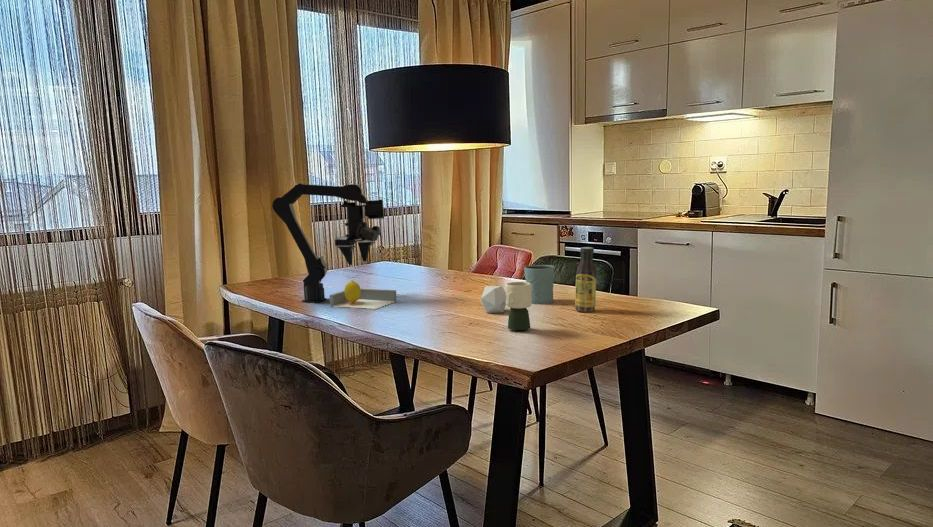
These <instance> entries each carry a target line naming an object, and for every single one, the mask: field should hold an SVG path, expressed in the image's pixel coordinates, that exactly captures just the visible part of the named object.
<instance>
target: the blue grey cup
mask: <svg viewBox="0 0 933 527" xmlns="http://www.w3.org/2000/svg"><path fill="white" fill-rule="evenodd" d="M523 271H524V278H525V282H528V283H531V303H532V304H531V305H548V304H552V303H553V302H554V282H555V281H554V280H555V278H554V277H555V266H554V265H551V264H533V265H526V266H524V267H523Z"/></svg>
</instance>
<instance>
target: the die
mask: <svg viewBox="0 0 933 527" xmlns="http://www.w3.org/2000/svg"><path fill="white" fill-rule="evenodd" d="M480 297H481V298H480V303H481V305H482V307H483V309H484V311H485V313H486V314H499V313H504V311H505V309H506V307H507V305H506V299H507V297H506V292H505V289H504V287H503V286H502V285H496V286H495V285H493V286H491V285H489V286H486V285H485V286H484V290H483V292H482V294H481V296H480Z"/></svg>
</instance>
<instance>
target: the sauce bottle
mask: <svg viewBox="0 0 933 527" xmlns="http://www.w3.org/2000/svg"><path fill="white" fill-rule="evenodd" d="M594 251H595V248H594V247H592V246H590V247H589V246H583V247H580V251H579V252H580V262H579V264H578V266H577V268H576V273H575V274H576V275H575V293H574V294H575V298H574V305H575V308H574V309H575V311H577V312H580V313H592V312H594V311H595V310H596V309H595V308H596V298H597V297H596V296H597V294H596V293H597V268H596V266H595V264H594Z"/></svg>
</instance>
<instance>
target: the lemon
mask: <svg viewBox="0 0 933 527" xmlns="http://www.w3.org/2000/svg"><path fill="white" fill-rule="evenodd" d="M360 288H361V287H360V285H359V284H358V283H357V281H354V280H350V281H349V282H347V283H346V285H345V286H344V289H343V291H344V293H345V297H346V299H347V300H348V301H350V302H352V303H355V301H357V300H358V299H359V298H360V295H361V290H360Z"/></svg>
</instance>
